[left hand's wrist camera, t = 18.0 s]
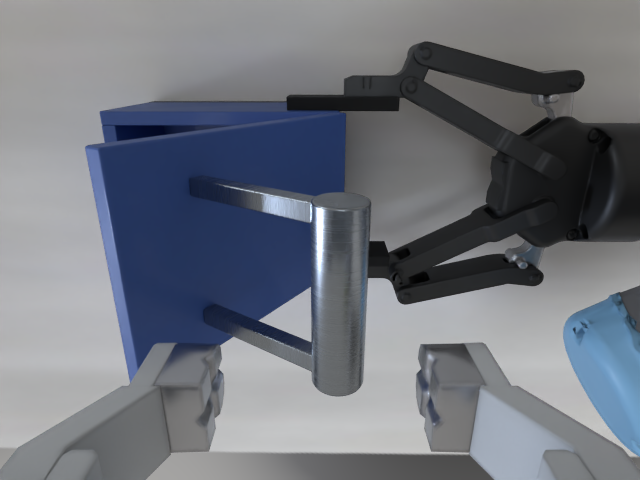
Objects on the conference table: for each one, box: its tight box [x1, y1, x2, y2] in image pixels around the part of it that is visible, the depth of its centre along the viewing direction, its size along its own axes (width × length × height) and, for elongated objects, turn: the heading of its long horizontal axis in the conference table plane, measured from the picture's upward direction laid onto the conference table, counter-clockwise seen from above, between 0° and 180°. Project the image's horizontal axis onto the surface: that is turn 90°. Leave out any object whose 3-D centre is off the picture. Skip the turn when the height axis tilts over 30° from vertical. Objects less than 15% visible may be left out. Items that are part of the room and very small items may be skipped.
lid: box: [85, 112, 371, 396], centre depth 18 cm, size 14×9×8 cm
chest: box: [100, 101, 340, 143], centre depth 30 cm, size 14×9×9 cm
